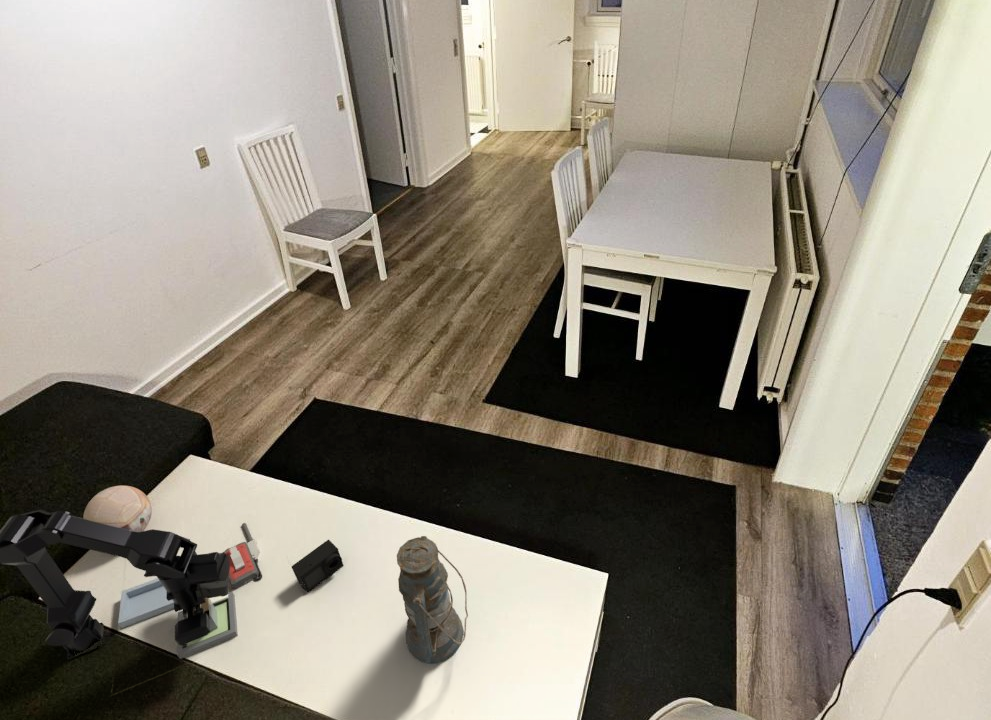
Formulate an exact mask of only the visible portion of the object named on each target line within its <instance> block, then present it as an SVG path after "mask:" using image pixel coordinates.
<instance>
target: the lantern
mask: <svg viewBox="0 0 991 720" xmlns="http://www.w3.org/2000/svg"><path fill="white" fill-rule="evenodd" d="M439 555H440V556H441V557H442V558H443V559H444V560H445V561H446V562H447V563H448V564H449V565H450V566H452V567H451V568H453V569H454V570H455V571H456V573H457V575H458V576H459V577H460V579H461V582H462V585H463V589H464V593H465V595H464V597H465V600H464V609H465V610H464V611H465V613H466V617H465V618H464V626H463V622H462V620H461V618H460V616H459V614H458V613H457V612H456V610H455V608H454V607H453V601H454V598H453V594H452V591H451V589H450V587H449V585H448V583H447V582H448V577H449V574H448V573H449V572H448V571H447V569H446V567H445V565H444V563H442V562H441V561H440V559H439ZM396 561H397V565H398V567H399V570H400V572H399V576H398V579H397V580H398V582H397V583H398V592H399V593H400V594H401V596H402V600H403V602H404V610H405V614H406V615H407V618H408V619H407V621H406V632H405V641H406V642H405V644H406V646H407V649H408V651H409V653H410V654H411V655H412V657H414V659H416V660H417V661H420V662H421V663H425V664H438V663H441V662H444V661H447V660H449V659H450V658H451V657H452V656H453V655H455V654H456V652H457V651H458V650H459V648H460V647H461V645H462V644H463V643H464V641H465V639H466V636H467V635H466V634H467V619H468V617H469V615H468V614H469V613H468V609H467V607H468V606H467V605H468V604H467V600H468V599H467V587H466V584H465V580H464V579H463V576H462V575H461V572H459V570H458V569H457V567H455V566H454V564H452V562H451V561H450V560H449V559H448V558H447V557H446V556H445V555H444V554H443V553H442V552H441V551H440V550H439V549H438V545H437V544H436V542H434V541H433V540H431V539H429V538H428V537H427V536H426V535H422V536H420V537H414V538H411V539H408V540H407V541H406V542H405V543H404V544H402V545H401V546H400V547H399V548H398V551H397V554H396Z"/></svg>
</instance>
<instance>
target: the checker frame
mask: <svg viewBox="0 0 991 720" xmlns="http://www.w3.org/2000/svg"><path fill="white" fill-rule="evenodd" d="M209 599H210V600H211V602H212V603H213V605H214V607H215V606H217V605H220V604H222V603H225V602H227V603H228V617H229V630H228V631H226V632H223V633H221V634H218V635H216V636H213V637H211V638H208V639H206V640H204V641H201V642H199V643H196V644H194V645H191V646H189V647H187V646H186V644H184V645H178V644H177V645H176V646H177V649H176V652H177V654H176V655H177V657H178V658H179V660H183V659H184V658H187V657H189V656H191V655H193V654H197V653H198V652H201V651H203V650H206V649H208V648H211V647H213V646H216V645H218V644H221V643H224V642H225V641H227V640H228V641H229V640H231V639H232V638H235V637H237V636H238V635H239V634H238V624H237V623H238V621H237V610H236V609H237V608H236V597H235V593H234V591H229V593H228V594H227V595H226V596H219V597H213V598H209ZM186 618H187V614H186V615H183V610H180V611H177V622H178V621H181V620H183V619H186Z"/></svg>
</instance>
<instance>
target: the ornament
mask: <svg viewBox="0 0 991 720" xmlns="http://www.w3.org/2000/svg"><path fill="white" fill-rule="evenodd" d="M152 509H153V508H152V504H151V502H150V500H149V497H148V496H147V494H145V493H144V491H142V490H140V489H139V488H137V487H134V486H130V485H115V486H114V485H113V486H110V487H107V488H104V489H103V490H101V491H99V492H98V493H97V494H95V495H94V496H93V497H92V498H91V500H90V501H88V503H87V505H86V507H85V509H84V512H83V516H82V518H83V519H87V520H91V521H95V522H99V523H102V524H106V525H110V526H114V527H118V528H122V529H126V530H130V531H135V532H142V531H145V530H146V529H147V527H148V525H149V523H150V521H151V518H152V512H153V510H152Z"/></svg>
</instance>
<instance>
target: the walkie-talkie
mask: <svg viewBox="0 0 991 720" xmlns="http://www.w3.org/2000/svg"><path fill="white" fill-rule="evenodd" d="M241 527H242V530H243V531H244V533H245V536H246V537H247V542H246V541H243V542H242V541H241V542H240V543H238V544H236V545H234V546H232V547H228V548H226V549H225V550H224V551H223V552H222V553H225V554H227V555H228V557H229V561H230V570H229V584H231V587H232V589H236V590H237V589H239V588H240V587H243V586H245V585H246V584H248V583H250V582H252V581H253V580H256V581H261V579H262V578H263V573H262V572H261V570H260V567H259V565H258V563H259V555H260V554H261V551H260V549H259V546H258V542H257V540H256V538H253V536H252V534H251V532H250V529H249V528H248V525H247V523H245V522H243V523H242V524H241Z"/></svg>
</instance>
